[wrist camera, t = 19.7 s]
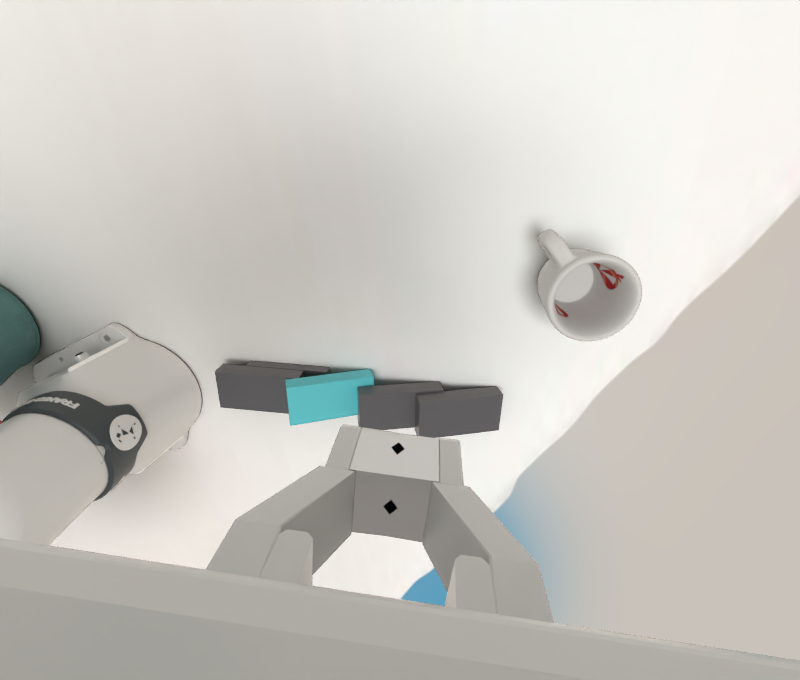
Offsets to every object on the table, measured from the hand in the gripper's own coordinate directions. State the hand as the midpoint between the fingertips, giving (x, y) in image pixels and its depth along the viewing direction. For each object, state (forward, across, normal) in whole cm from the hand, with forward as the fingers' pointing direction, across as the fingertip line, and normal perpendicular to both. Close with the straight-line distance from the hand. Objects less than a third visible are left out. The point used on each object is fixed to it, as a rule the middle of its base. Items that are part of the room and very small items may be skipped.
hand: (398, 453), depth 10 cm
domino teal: (+33, +5, +18) cm, 38 cm away
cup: (+34, -14, +1) cm, 37 cm away
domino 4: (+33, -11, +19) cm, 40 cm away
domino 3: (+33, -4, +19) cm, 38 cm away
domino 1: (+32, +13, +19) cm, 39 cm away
